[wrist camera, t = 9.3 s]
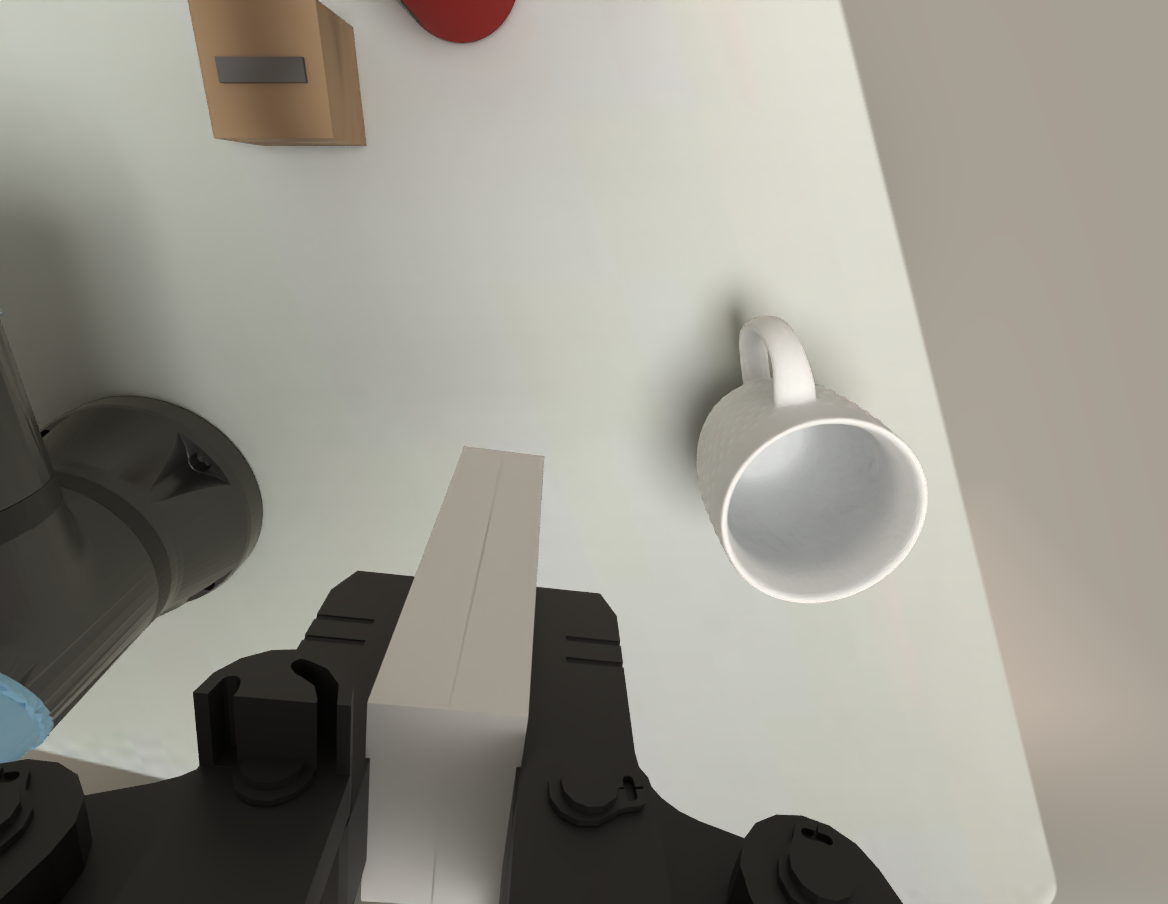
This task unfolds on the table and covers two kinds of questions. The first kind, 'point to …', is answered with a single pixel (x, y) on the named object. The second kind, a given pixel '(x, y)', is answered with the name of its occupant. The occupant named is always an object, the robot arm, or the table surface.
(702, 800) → the table surface
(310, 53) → the wooden minus sign cube
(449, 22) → the beverage can
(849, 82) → the table surface
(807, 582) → the mug
